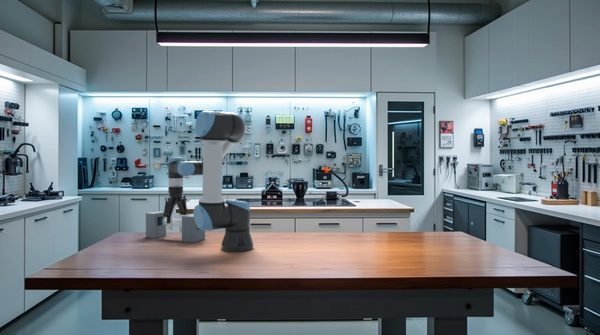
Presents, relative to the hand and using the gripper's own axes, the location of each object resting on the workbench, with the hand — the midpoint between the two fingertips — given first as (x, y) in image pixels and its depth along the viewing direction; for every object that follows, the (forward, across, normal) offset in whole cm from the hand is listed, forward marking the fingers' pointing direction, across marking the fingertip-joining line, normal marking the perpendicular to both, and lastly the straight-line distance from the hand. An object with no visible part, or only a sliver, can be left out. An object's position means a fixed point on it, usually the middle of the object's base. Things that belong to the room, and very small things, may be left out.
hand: (175, 228), depth 224 cm
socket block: (+5, 0, -14) cm, 15 cm away
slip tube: (-1, 0, +5) cm, 5 cm away
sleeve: (+5, 0, +12) cm, 13 cm away
